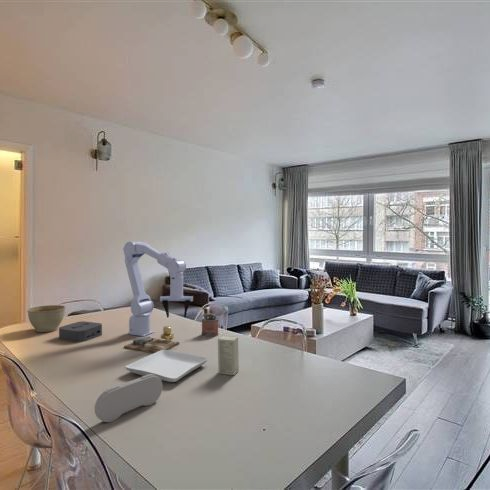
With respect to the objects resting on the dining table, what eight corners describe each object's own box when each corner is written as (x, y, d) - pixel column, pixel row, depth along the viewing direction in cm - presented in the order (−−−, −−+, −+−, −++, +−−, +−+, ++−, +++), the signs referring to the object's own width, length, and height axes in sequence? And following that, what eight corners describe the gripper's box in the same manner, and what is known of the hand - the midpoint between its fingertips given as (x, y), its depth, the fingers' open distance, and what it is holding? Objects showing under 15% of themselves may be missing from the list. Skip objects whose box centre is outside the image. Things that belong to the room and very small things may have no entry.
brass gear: (158, 338, 161) (158, 327, 161) (165, 335, 166) (165, 325, 166) (168, 340, 159) (168, 329, 159) (175, 337, 164) (175, 326, 164)
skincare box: (238, 371, 125) (239, 336, 124) (234, 375, 120) (234, 340, 120) (222, 368, 127) (222, 334, 126) (217, 373, 122) (217, 338, 122)
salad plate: (209, 365, 130) (209, 356, 130) (175, 388, 111) (175, 377, 111) (163, 356, 139) (163, 348, 139) (123, 376, 120) (123, 366, 120)
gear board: (124, 347, 148) (124, 342, 148) (146, 338, 161) (146, 333, 161) (159, 354, 141) (159, 348, 141) (179, 344, 154) (179, 338, 154)
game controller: (158, 397, 104) (158, 369, 104) (162, 400, 103) (162, 371, 103) (93, 424, 90) (93, 392, 89) (98, 427, 88) (98, 394, 88)
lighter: (218, 334, 170) (219, 313, 170) (217, 336, 166) (217, 314, 166) (202, 333, 171) (202, 312, 170) (200, 335, 167) (200, 314, 167)
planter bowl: (72, 328, 177) (72, 307, 176) (38, 336, 163) (38, 313, 163) (54, 324, 185) (54, 303, 185) (21, 331, 172) (20, 309, 171)
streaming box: (81, 331, 174) (81, 320, 173) (104, 334, 168) (104, 323, 168) (55, 339, 160) (55, 328, 160) (80, 343, 155) (80, 331, 155)
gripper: (159, 288, 156) (158, 319, 156) (192, 288, 157) (192, 319, 158) (161, 286, 163) (161, 315, 163) (193, 286, 164) (192, 315, 165)
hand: (176, 317), depth 161 cm, fingers open, 7 cm apart
